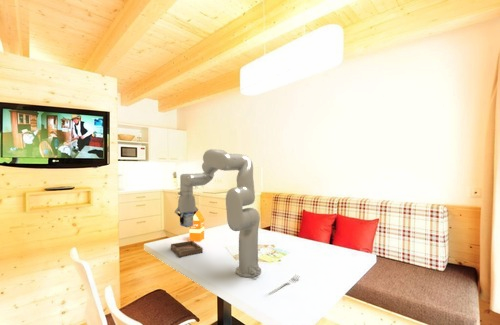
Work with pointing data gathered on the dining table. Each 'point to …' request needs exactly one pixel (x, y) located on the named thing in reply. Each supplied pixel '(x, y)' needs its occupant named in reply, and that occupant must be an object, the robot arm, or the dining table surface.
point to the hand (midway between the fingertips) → (186, 222)
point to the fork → (283, 285)
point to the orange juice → (197, 228)
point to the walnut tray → (186, 248)
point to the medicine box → (187, 219)
